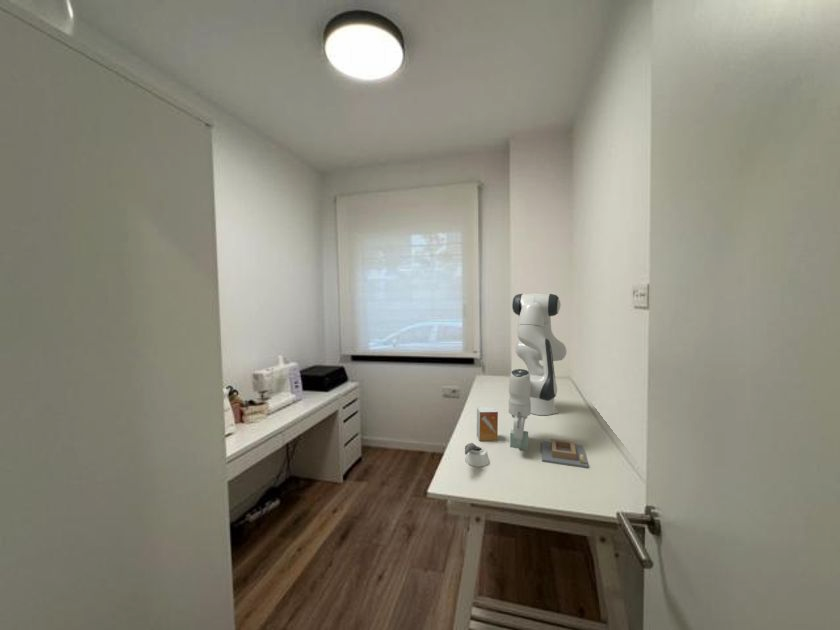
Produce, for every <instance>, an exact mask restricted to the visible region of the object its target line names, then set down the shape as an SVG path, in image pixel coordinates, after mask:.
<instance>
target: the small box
mask: <svg viewBox="0 0 840 630" xmlns="http://www.w3.org/2000/svg"><path fill="white" fill-rule="evenodd" d="M498 419H499V411H498V410H497V409H496V408H495V407H493V406H492V407H487V406H485V407H476V437H477V439H478V440H479V442H484V441H487V442H488V441H489V442H490V441H491V442H493V441H496V442H497V441H498V432H499V431H498V429H499V427H498V425H499V423H498V422H499V421H498Z"/></svg>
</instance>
